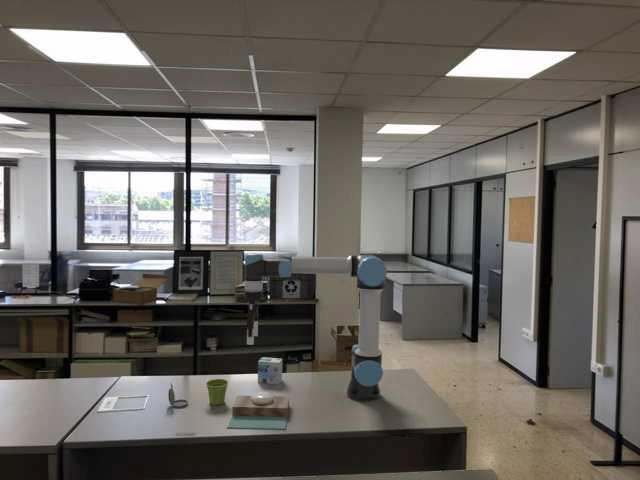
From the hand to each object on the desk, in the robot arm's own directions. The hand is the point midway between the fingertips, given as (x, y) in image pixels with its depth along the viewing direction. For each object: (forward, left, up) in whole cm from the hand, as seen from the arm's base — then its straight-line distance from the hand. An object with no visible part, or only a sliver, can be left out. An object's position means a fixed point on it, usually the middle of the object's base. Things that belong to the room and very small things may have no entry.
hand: (252, 340), depth 205 cm
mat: (-5, +18, -28) cm, 34 cm away
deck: (-5, +7, -28) cm, 29 cm away
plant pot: (+15, -1, -28) cm, 32 cm away
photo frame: (+53, +3, -28) cm, 60 cm away
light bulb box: (-5, -28, -28) cm, 40 cm away
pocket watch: (+31, +3, -28) cm, 42 cm away
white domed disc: (-5, +5, -24) cm, 25 cm away
